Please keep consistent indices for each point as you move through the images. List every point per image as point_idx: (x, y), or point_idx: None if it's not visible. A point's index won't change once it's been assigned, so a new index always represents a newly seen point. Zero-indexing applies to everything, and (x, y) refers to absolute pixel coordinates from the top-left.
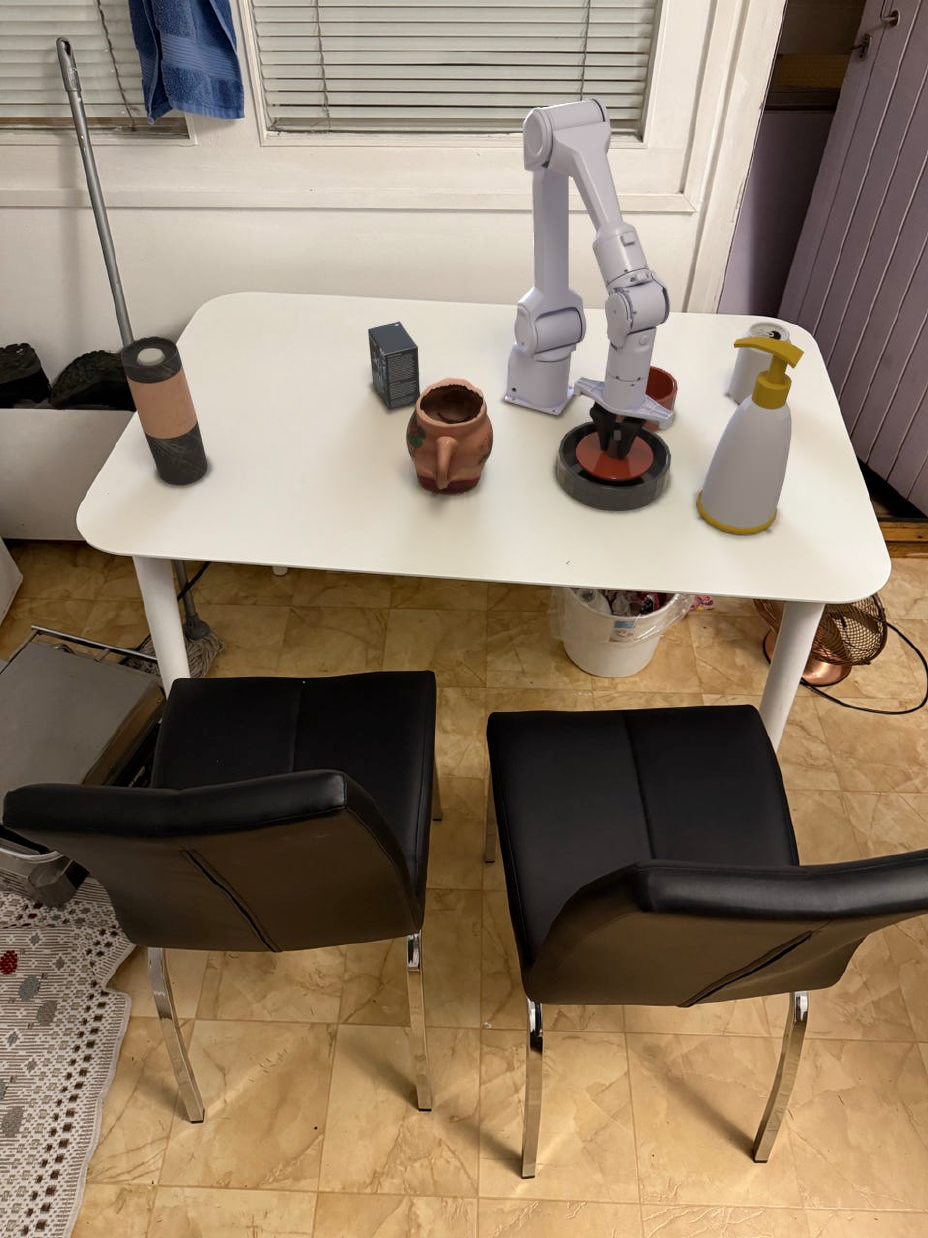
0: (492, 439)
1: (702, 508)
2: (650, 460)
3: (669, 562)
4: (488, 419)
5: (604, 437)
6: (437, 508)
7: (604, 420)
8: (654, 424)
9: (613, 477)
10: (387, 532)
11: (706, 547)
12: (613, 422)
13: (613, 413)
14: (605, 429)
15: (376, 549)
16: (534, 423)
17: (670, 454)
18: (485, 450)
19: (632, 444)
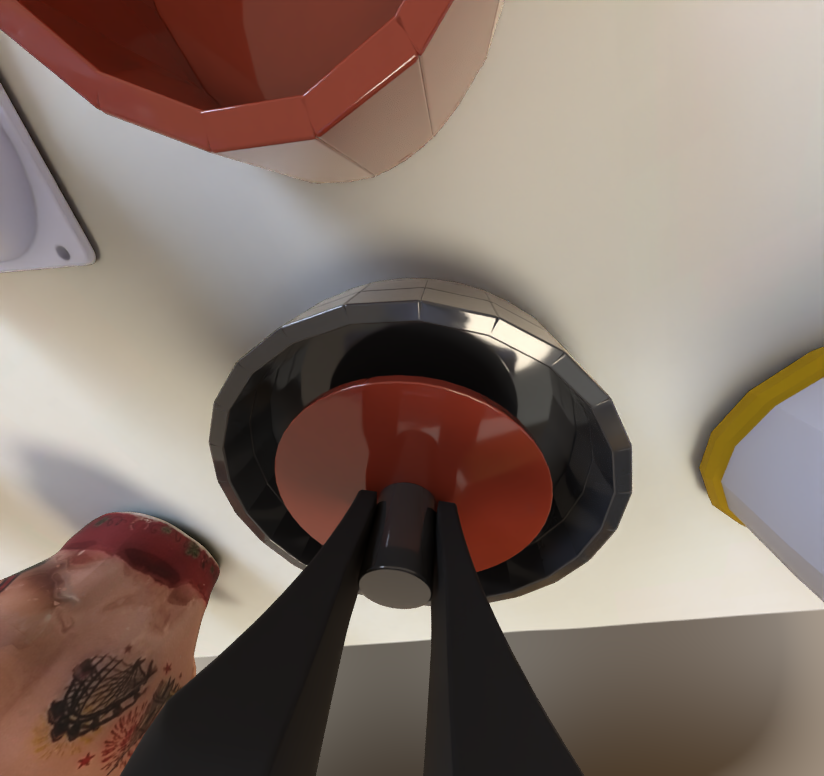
0: (130, 716)
1: (725, 505)
2: (543, 491)
3: (623, 597)
4: (42, 774)
5: (355, 597)
6: (218, 593)
7: (317, 754)
8: (459, 91)
9: None
10: (214, 627)
11: (712, 558)
12: (340, 602)
13: (314, 705)
14: (341, 647)
15: (230, 643)
16: (97, 334)
17: (627, 442)
18: None
19: (445, 442)
